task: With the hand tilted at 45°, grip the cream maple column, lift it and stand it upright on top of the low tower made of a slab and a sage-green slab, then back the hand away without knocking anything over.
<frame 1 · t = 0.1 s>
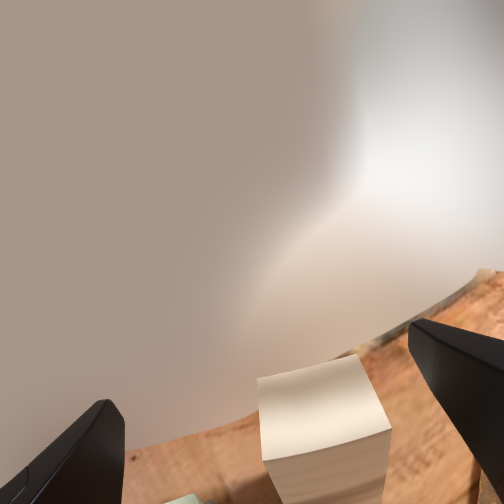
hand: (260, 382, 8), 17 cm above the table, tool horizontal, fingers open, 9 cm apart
shard: (497, 491, 12), on the table
maple column: (330, 484, 18), on the table
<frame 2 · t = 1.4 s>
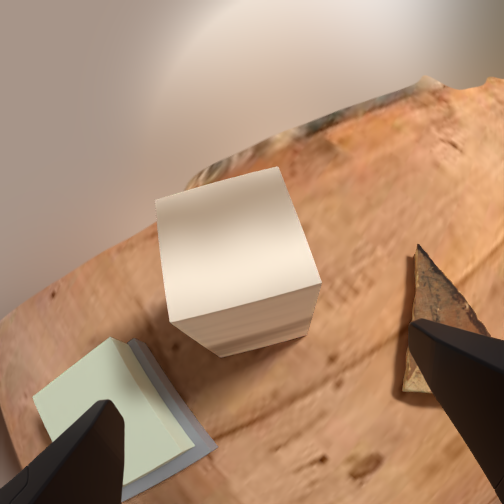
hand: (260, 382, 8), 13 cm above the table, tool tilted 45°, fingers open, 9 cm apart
tower bottom slab: (135, 426, 20), on the table, touching tower top slab
shard: (426, 340, 20), on the table
maple column: (253, 306, 22), on the table
tower top slab: (115, 423, 17), point 2 cm above the table, touching tower bottom slab
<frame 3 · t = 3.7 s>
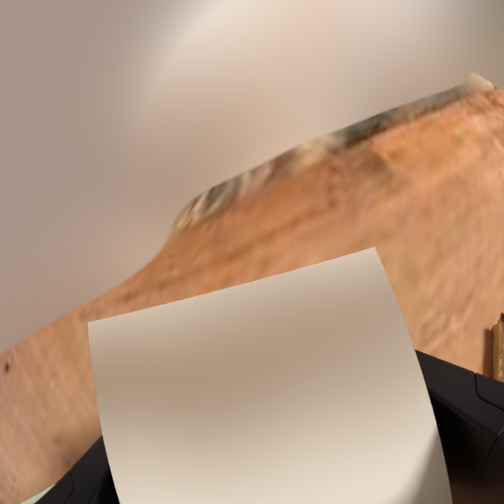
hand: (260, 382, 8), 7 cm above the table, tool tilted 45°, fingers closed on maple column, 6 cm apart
shard: (497, 435, 12), on the table
maple column: (279, 416, 14), on the table, touching gripper
when the fingers open (12 cm above the table, at t = 7.1 s): maple column drops 1 cm, resting on tower top slab.
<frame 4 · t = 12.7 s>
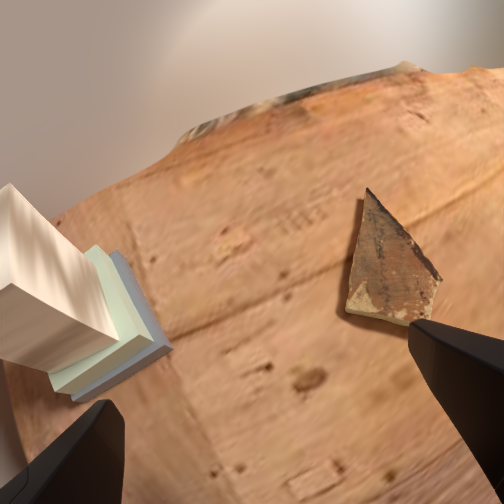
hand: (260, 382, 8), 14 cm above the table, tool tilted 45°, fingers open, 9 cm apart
tower bottom slab: (107, 331, 24), on the table, touching tower top slab
shard: (373, 272, 24), on the table
maple column: (73, 319, 19), point 4 cm above the table, touching tower top slab
tower top slab: (90, 325, 22), point 2 cm above the table, touching maple column, tower bottom slab
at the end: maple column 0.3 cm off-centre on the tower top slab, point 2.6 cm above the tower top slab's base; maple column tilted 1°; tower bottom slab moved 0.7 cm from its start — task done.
